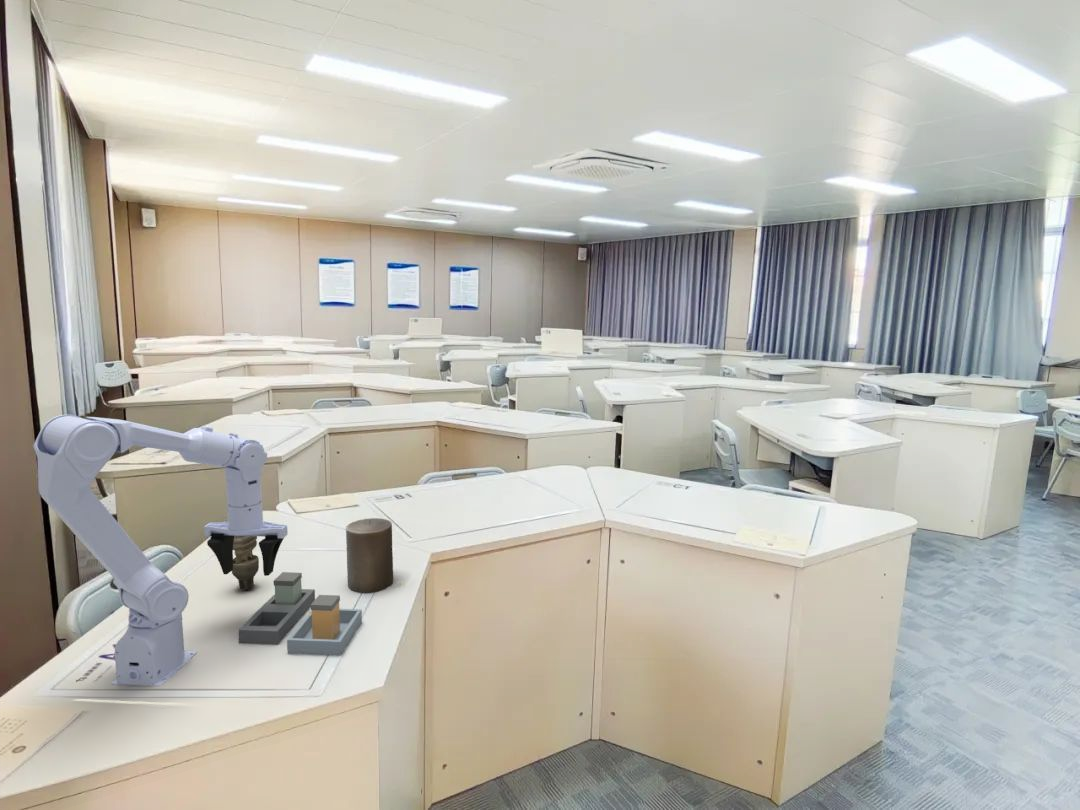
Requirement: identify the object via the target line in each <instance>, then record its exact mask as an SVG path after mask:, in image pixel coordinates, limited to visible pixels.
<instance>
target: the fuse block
mask: <svg viewBox="0 0 1080 810" xmlns="http://www.w3.org/2000/svg"><path fill="white" fill-rule="evenodd" d="M315 599H316V590H315V588H314V589H311V588H309V589H308V588H302V598H301V600H300V601H299V602H298V603H297V604H296V605H285V604H275V593H274V594H273V595H272V596H271V597H270V598H269V599H268V600H267V601H266V602H265V603H264V604H262V606H261V607H260V608H259V609H258V610H257V611H255V613H254V614H253V615H251V616H250V617H249V619H248V620H247V621H246V622H244V623H243V624H242V625H241V626H240V628H239V629H237V633H238V634H237V635H238V644H246V645H247V644H249V645H252V644H253V645H279V644H280V643H281V642H282V640H284V639H285V638H286V636H288V634H289V632H291V630H292V629H293V628H295V625H296V624H297V623H298V622H299V621H300V620H301V619H302V617H303V616H304V615H305V614H306V613H307V611H308V610H309V609H311V604H312V603H313V601H314V600H315Z"/></svg>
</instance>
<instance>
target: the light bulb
mask: <svg viewBox="0 0 1080 810" xmlns="http://www.w3.org/2000/svg"><path fill="white" fill-rule="evenodd" d="M257 539H258V536H234V542H233V552H234V555H235V557H233V570H232V571H231V575H232V576H233V577H234V578H235V579H237V581H238V587H239V590H240V591H245V592H246V591H250V590H252V589H253V588H254V587H255V582H254V581H255V580H254V578H255V576H256V575H257V573H258V571H259V568H260V565H259V564H260V563H259V562H260V561H259V559H260V558H259V556H258V555H256V554H253V550H254V549H256V547H257V545H258V541H257Z"/></svg>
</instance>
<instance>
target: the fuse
mask: <svg viewBox="0 0 1080 810" xmlns="http://www.w3.org/2000/svg"><path fill="white" fill-rule="evenodd" d="M302 574H303V573H302V572H291V571H290V572H287V571H282V572H281V573H280V574H279V575H278V576H277V577H276V578H274V579H273V586H274V594H275V604H285V605H296V604H297V603H298V602H299V601H300V600H301V598H302V589H303V588H302V578H303V576H302Z"/></svg>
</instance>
